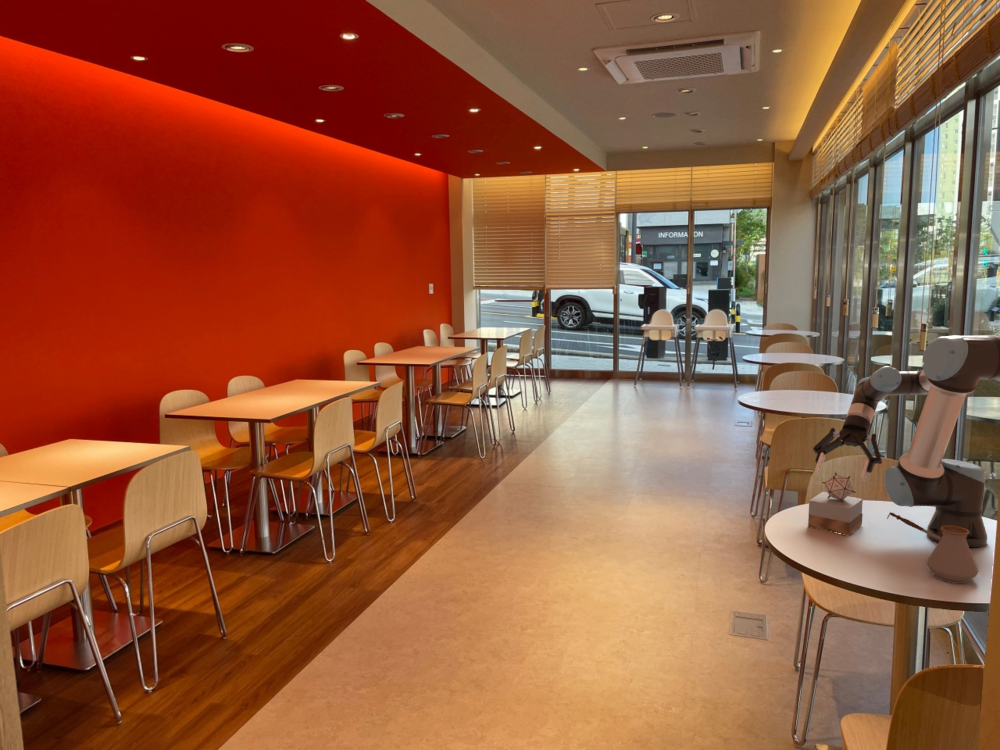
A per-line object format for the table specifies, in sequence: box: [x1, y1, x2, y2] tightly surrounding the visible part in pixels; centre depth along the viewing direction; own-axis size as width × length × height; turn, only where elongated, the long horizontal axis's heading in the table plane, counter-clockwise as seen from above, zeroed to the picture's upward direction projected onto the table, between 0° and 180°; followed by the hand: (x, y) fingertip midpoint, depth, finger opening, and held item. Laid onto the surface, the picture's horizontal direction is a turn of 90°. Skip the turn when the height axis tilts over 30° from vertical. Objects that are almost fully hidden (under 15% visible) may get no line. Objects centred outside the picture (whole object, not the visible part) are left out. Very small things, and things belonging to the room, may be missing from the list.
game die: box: [822, 472, 857, 503], centre depth 229 cm, size 9×8×10 cm
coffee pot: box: [886, 511, 979, 584], centre depth 194 cm, size 21×12×15 cm, turn 58°
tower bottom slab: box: [807, 512, 864, 536], centre depth 231 cm, size 12×12×4 cm
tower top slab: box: [808, 491, 864, 523], centre depth 230 cm, size 12×12×4 cm
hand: (839, 476), depth 230 cm, fingers open, 13 cm apart
